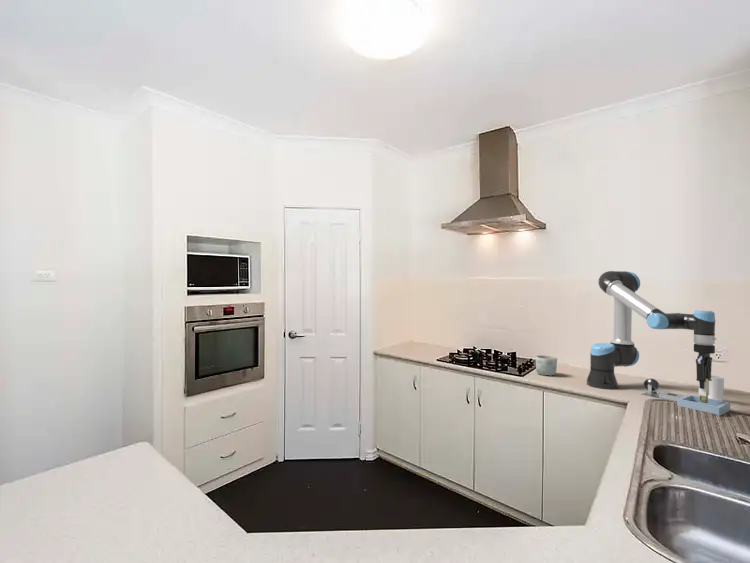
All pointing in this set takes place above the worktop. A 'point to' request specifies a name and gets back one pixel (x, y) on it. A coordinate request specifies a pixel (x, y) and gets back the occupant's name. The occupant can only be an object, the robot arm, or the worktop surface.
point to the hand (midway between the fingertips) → (703, 394)
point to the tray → (704, 404)
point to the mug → (716, 388)
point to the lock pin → (704, 398)
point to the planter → (546, 365)
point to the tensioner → (654, 385)
